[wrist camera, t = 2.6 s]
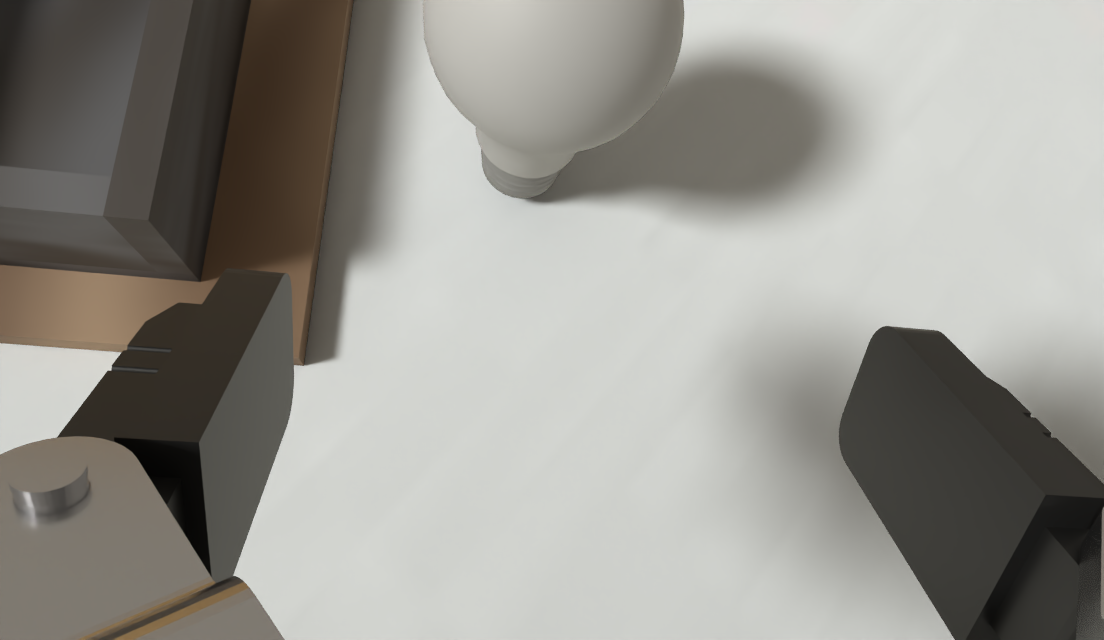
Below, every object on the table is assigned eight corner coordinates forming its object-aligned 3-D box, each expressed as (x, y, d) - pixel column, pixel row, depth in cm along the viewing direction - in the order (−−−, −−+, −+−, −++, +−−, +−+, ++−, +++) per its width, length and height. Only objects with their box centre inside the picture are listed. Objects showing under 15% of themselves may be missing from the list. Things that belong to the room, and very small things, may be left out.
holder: (357, -28, 28) (340, -163, 22) (303, 365, 24) (268, 313, 18) (-151, -98, 26) (-299, -264, 20) (-303, 320, 22) (-536, 247, 16)
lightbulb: (624, 248, 26) (754, 48, 16) (439, 271, 25) (447, 72, 15) (589, 85, 28) (685, -195, 17) (412, 100, 27) (402, -191, 16)
